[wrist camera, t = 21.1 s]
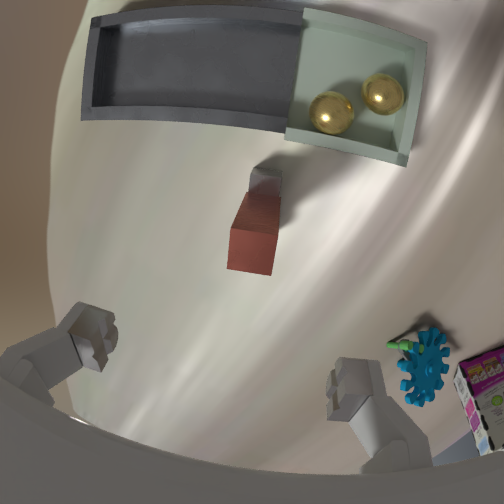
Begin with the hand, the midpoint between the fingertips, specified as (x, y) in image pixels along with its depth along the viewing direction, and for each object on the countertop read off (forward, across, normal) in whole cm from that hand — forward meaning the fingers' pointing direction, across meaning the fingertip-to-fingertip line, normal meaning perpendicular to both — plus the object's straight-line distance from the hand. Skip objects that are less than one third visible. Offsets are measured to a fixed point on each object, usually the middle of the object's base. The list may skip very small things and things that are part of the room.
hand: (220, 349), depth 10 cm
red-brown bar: (+19, 0, +2) cm, 19 cm away
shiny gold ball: (+18, -9, -10) cm, 23 cm away
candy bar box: (+18, -38, +19) cm, 47 cm away
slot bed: (+19, +8, -10) cm, 23 cm away
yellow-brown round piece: (+17, -5, -9) cm, 20 cm away
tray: (+19, -5, -10) cm, 22 cm away
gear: (+19, -23, +16) cm, 34 cm away
